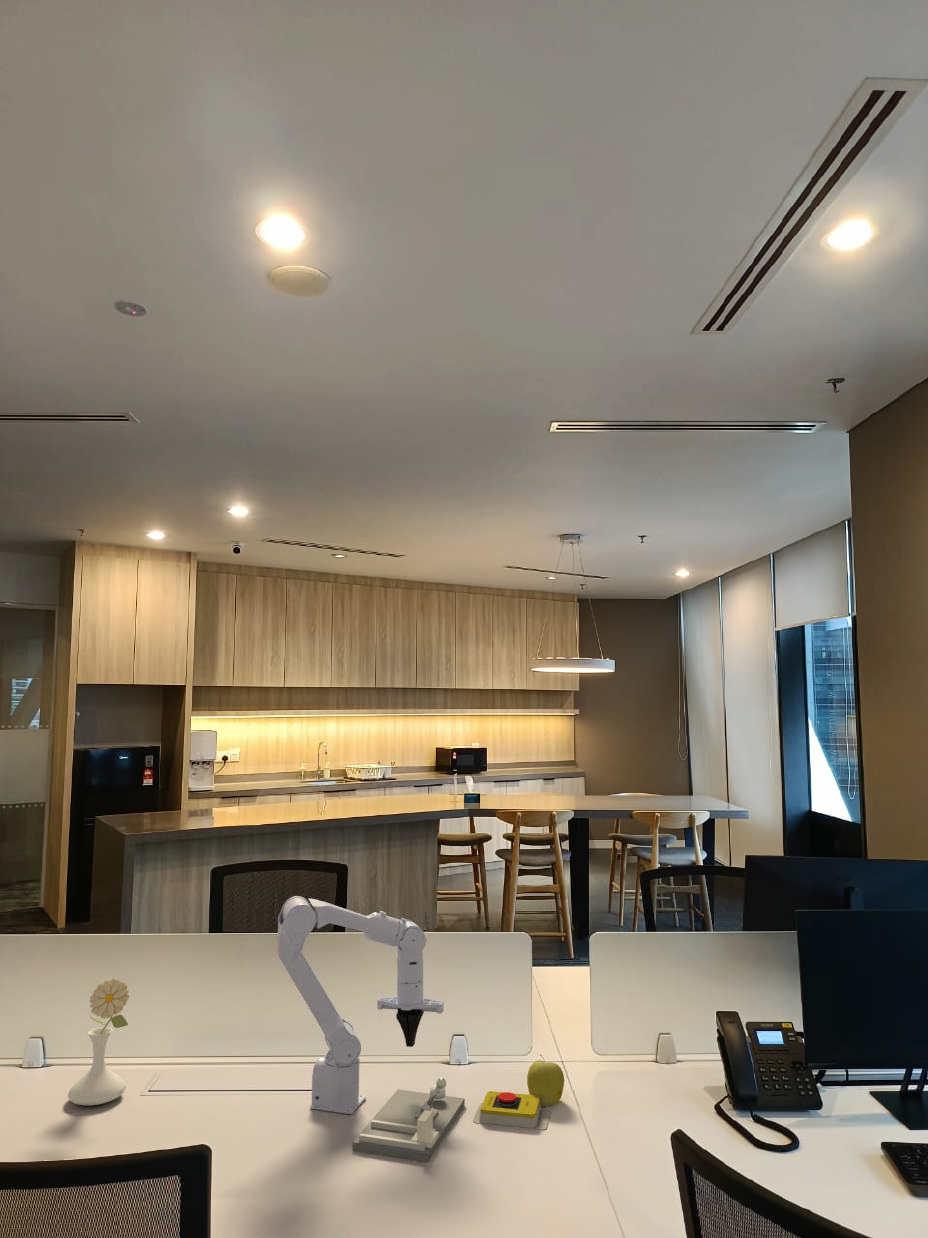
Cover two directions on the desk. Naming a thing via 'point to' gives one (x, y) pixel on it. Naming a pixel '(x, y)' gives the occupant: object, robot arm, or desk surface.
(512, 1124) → the emergency button
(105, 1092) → the flower in vase
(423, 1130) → the paddle slider
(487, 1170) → the desk surface
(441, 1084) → the toggle lever
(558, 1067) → the apple
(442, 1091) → the push button
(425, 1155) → the grey base plate
